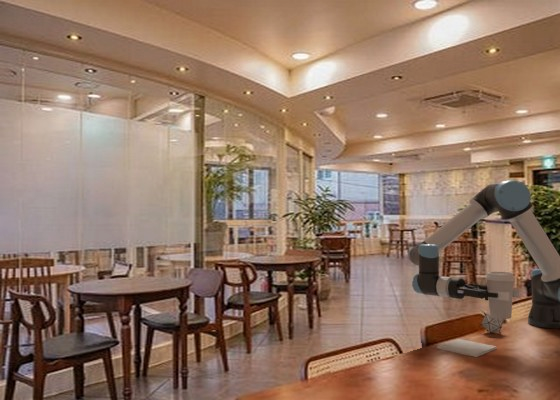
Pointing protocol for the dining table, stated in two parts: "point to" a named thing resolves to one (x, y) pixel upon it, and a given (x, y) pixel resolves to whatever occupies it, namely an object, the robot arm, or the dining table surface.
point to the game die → (492, 323)
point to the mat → (467, 347)
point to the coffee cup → (503, 284)
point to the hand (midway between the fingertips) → (514, 295)
